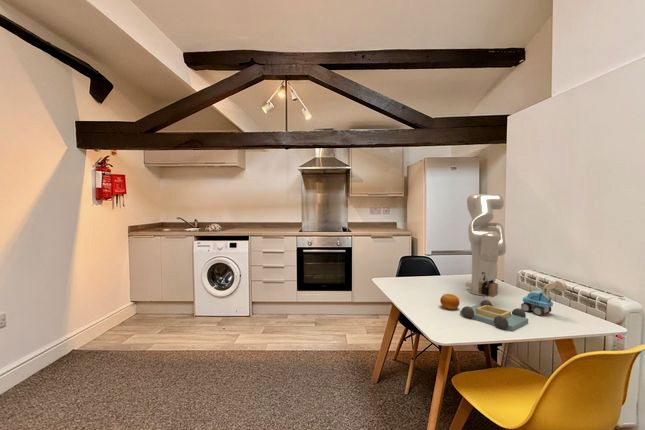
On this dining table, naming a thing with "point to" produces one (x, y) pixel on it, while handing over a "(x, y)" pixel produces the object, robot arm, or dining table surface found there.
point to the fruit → (449, 301)
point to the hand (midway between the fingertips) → (487, 292)
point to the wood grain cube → (490, 289)
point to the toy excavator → (541, 298)
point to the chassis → (496, 316)
